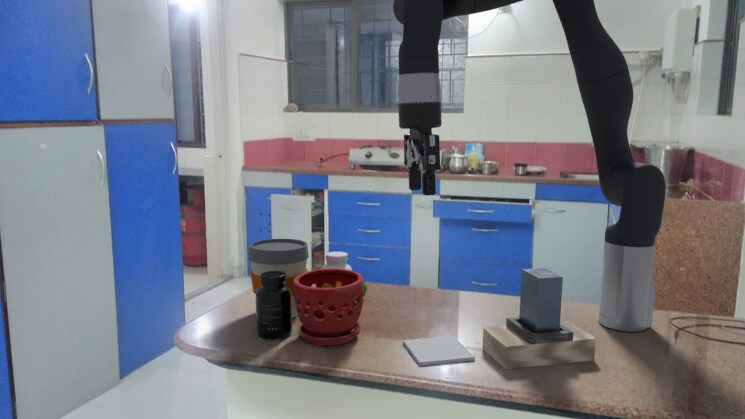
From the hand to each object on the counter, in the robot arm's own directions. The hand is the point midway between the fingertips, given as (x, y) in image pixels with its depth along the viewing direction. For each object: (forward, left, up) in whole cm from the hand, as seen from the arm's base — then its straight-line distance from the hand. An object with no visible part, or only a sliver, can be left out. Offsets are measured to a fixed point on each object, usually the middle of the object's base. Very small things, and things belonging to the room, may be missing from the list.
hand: (421, 192), depth 104 cm
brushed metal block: (-19, +10, -24) cm, 32 cm away
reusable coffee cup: (+24, -22, -29) cm, 43 cm away
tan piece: (-19, +10, -28) cm, 35 cm away
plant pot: (+16, -6, -29) cm, 33 cm away
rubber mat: (-2, +5, -28) cm, 29 cm away
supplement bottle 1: (+26, -10, -29) cm, 40 cm away
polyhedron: (+6, -28, -29) cm, 40 cm away
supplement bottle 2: (+12, -20, -29) cm, 37 cm away
